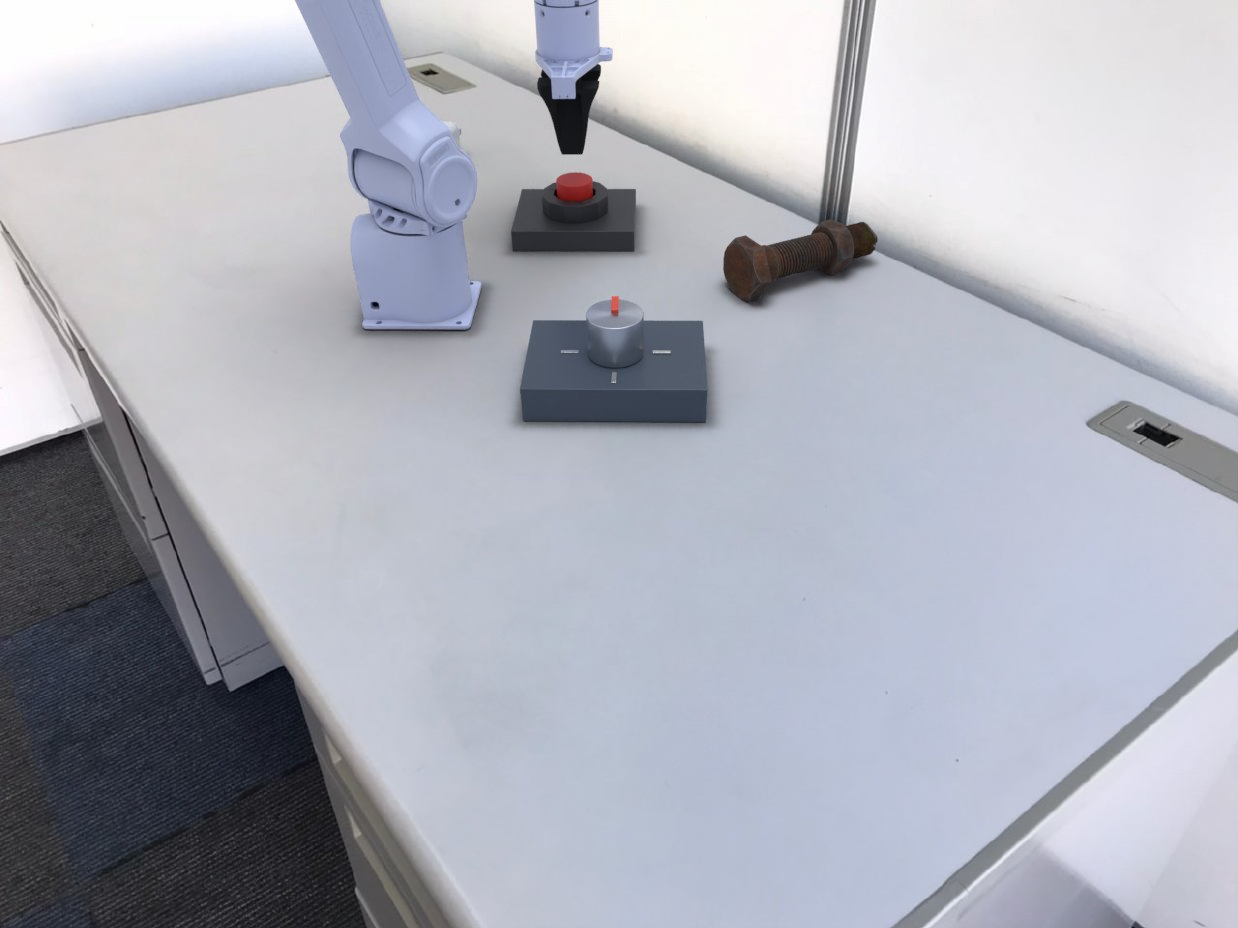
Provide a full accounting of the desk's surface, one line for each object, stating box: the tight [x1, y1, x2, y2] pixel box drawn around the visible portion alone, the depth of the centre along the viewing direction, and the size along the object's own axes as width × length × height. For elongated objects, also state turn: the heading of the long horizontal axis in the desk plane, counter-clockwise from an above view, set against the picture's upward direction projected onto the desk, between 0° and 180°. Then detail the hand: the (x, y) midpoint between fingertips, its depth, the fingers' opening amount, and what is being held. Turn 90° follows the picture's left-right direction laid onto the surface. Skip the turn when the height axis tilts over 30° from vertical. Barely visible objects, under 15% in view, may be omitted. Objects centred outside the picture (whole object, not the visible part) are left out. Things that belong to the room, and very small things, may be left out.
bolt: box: [722, 219, 879, 303], centre depth 92 cm, size 6×5×15 cm
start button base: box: [510, 180, 637, 253], centre depth 101 cm, size 12×10×4 cm
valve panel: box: [519, 319, 708, 423], centre depth 79 cm, size 14×10×3 cm
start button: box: [555, 172, 594, 201], centre depth 99 cm, size 4×4×2 cm
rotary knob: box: [585, 295, 645, 368], centre depth 77 cm, size 4×4×4 cm
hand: (573, 149), depth 97 cm, fingers closed
